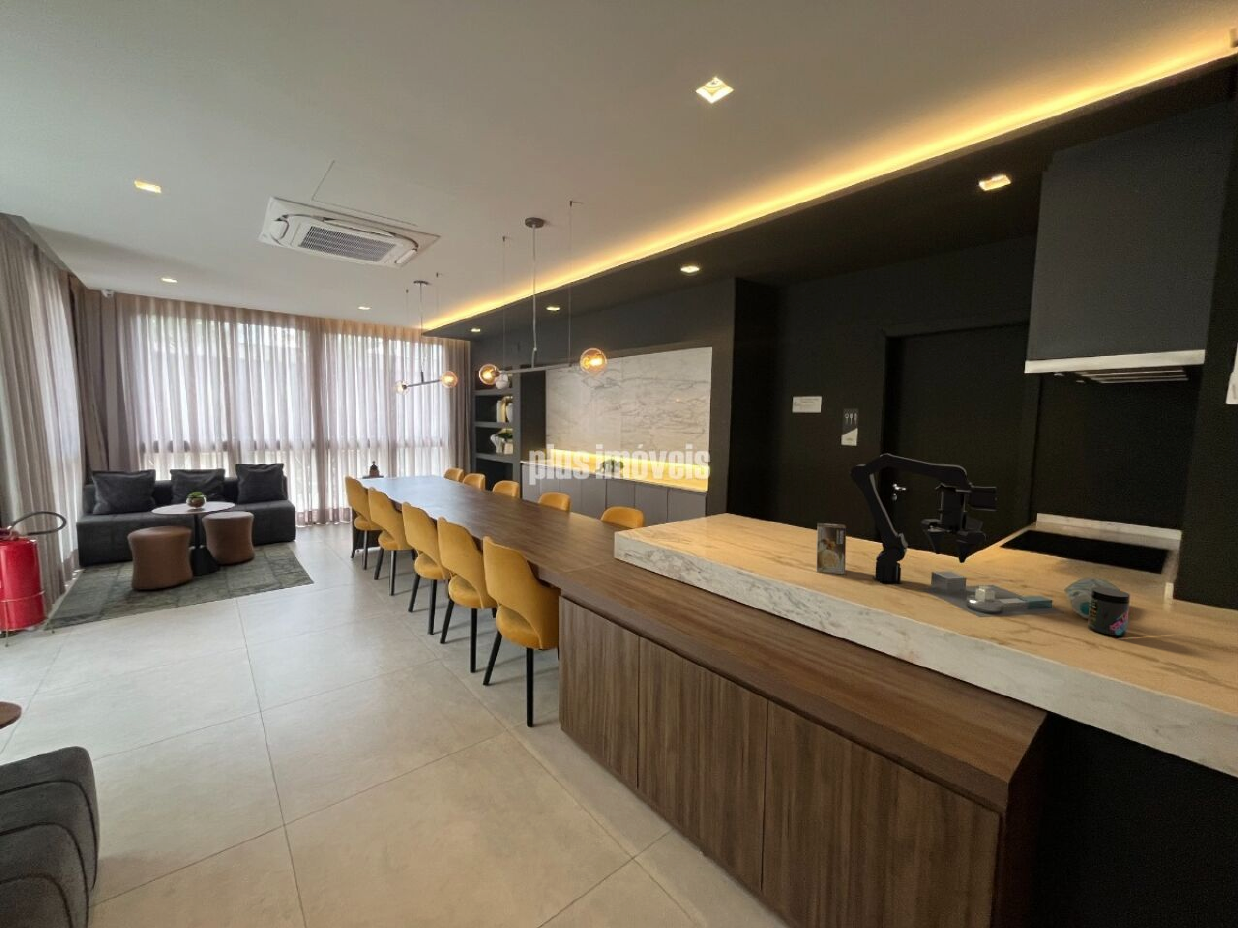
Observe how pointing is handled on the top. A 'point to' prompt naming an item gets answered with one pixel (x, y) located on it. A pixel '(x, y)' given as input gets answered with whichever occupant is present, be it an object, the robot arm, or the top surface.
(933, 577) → the grey block
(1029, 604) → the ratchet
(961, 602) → the tool mat
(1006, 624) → the top surface
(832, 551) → the coffee box
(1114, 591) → the supplement container
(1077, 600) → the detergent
